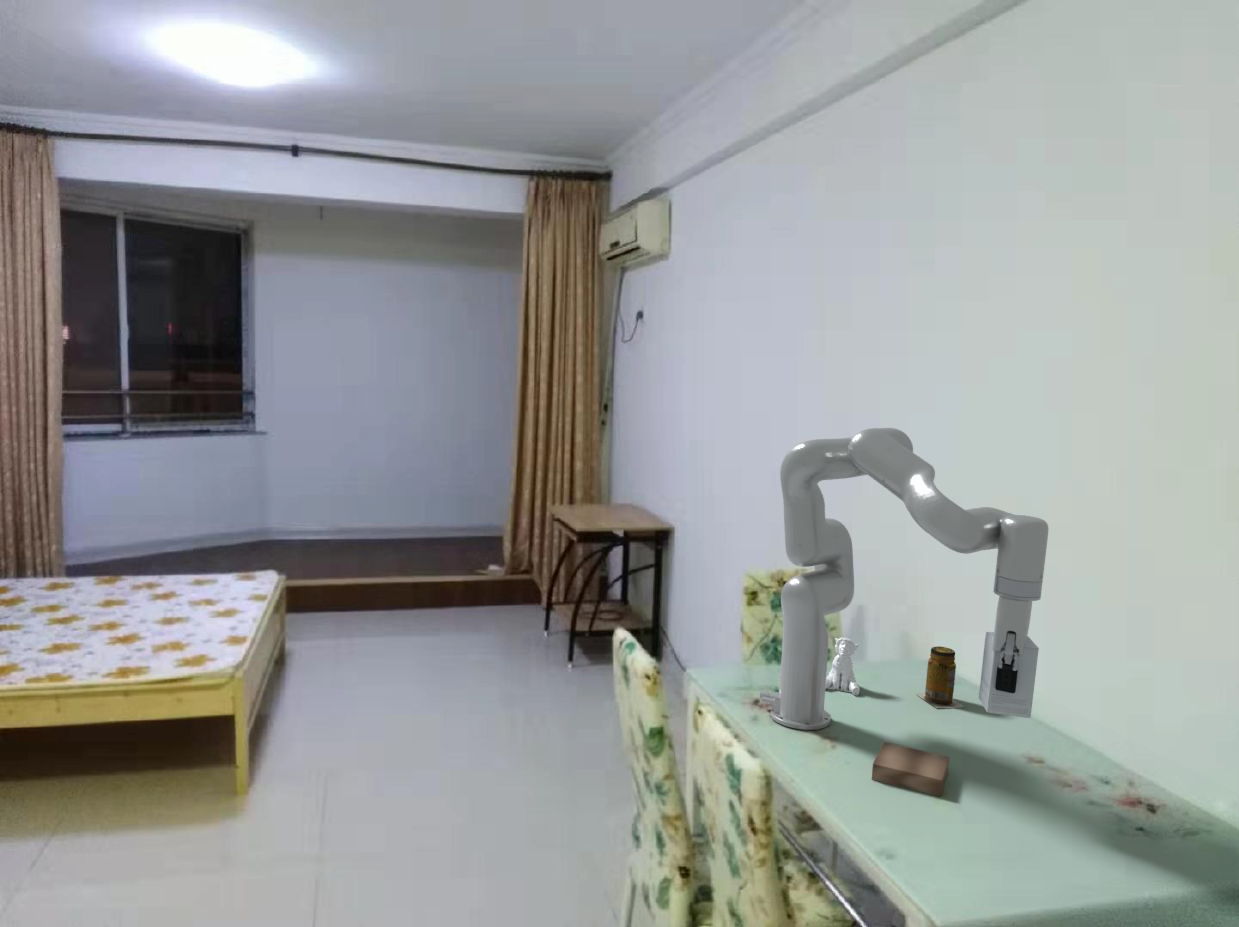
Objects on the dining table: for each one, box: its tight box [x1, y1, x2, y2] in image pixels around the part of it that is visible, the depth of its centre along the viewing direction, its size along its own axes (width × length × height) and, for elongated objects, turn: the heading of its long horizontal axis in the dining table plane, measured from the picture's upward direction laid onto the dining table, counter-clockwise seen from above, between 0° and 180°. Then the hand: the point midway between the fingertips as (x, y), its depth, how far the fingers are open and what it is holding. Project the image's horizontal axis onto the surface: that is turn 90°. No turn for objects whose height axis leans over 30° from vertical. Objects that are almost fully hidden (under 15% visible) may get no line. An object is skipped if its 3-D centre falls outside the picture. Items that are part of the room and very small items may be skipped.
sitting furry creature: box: [825, 637, 861, 697], centre depth 207 cm, size 10×9×12 cm
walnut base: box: [871, 742, 950, 797], centre depth 163 cm, size 12×11×3 cm
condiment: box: [916, 646, 965, 709], centre depth 201 cm, size 7×8×12 cm
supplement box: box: [978, 631, 1040, 719], centre depth 154 cm, size 7×7×13 cm
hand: (1006, 682), depth 155 cm, fingers closed on supplement box, 8 cm apart
